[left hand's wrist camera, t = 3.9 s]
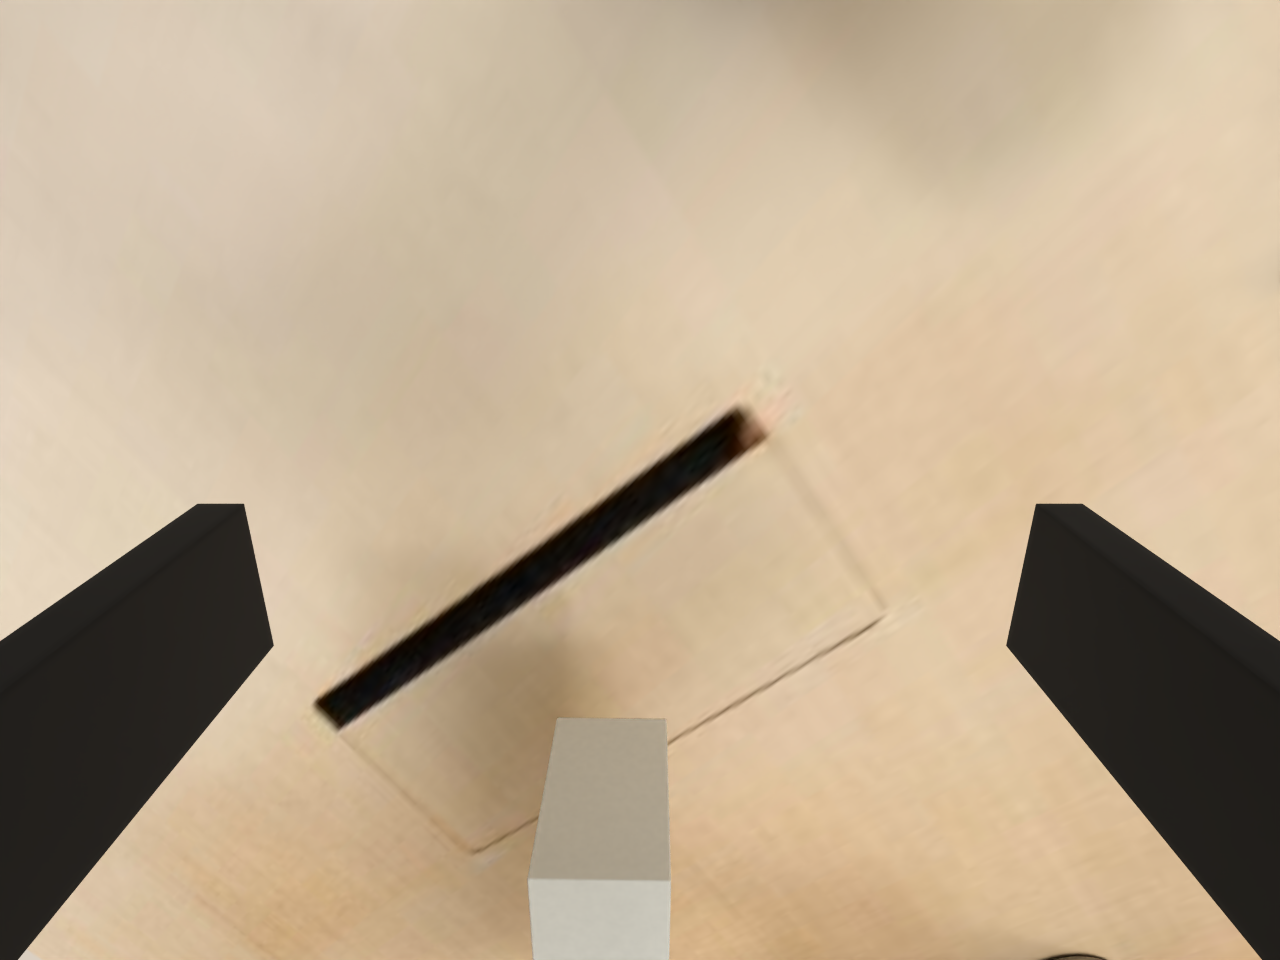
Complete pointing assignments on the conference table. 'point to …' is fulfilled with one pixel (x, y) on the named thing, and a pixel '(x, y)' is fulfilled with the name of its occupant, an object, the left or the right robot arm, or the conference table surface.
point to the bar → (603, 844)
